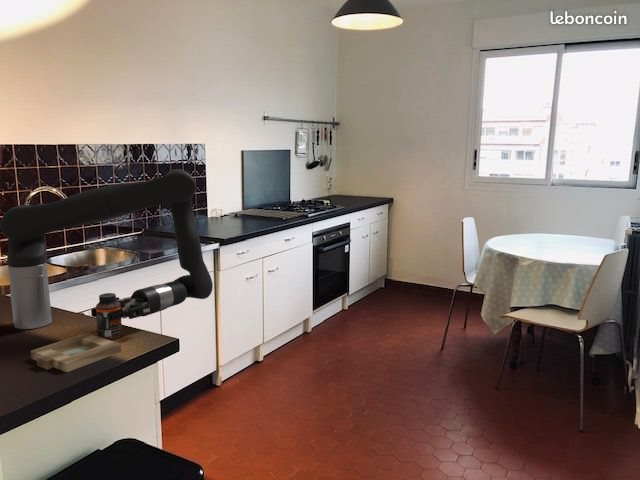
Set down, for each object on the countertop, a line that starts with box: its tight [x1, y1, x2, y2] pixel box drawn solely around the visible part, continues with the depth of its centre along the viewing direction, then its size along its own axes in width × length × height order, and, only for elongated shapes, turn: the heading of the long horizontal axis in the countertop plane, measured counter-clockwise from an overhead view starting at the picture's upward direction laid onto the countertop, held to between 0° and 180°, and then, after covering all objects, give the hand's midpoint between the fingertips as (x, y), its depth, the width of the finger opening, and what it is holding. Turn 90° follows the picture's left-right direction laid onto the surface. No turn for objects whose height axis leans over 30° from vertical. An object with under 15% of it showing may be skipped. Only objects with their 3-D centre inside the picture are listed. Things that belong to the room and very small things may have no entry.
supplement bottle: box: [95, 292, 123, 341], centre depth 135 cm, size 6×6×11 cm
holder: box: [30, 332, 122, 373], centre depth 123 cm, size 14×16×2 cm
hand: (100, 315), depth 133 cm, fingers closed on supplement bottle, 6 cm apart
